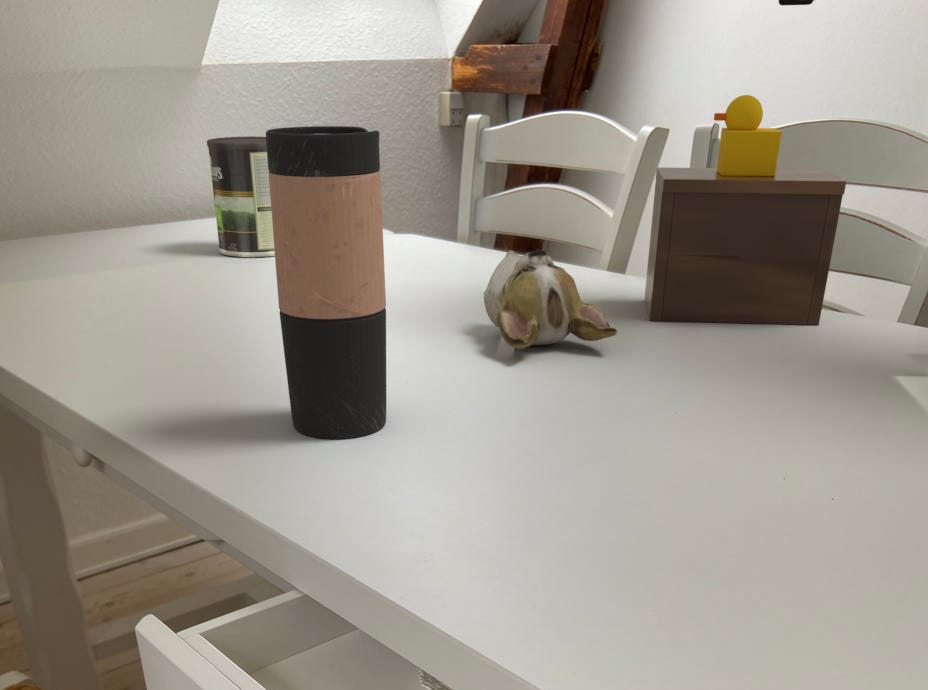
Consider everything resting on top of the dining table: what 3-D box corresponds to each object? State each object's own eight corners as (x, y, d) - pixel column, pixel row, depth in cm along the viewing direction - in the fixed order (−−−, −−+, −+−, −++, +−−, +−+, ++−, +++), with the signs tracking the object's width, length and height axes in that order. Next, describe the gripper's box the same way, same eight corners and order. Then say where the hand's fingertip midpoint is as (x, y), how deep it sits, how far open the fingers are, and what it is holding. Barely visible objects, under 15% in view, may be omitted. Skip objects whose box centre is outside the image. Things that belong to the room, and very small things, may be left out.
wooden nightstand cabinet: (644, 299, 113) (656, 167, 107) (799, 302, 112) (822, 168, 105) (649, 322, 104) (663, 179, 97) (819, 326, 102) (846, 181, 95)
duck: (768, 171, 103) (779, 94, 99) (775, 176, 99) (787, 96, 95) (705, 171, 103) (714, 94, 100) (710, 175, 100) (719, 95, 96)
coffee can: (221, 259, 135) (208, 143, 128) (217, 246, 144) (205, 137, 136) (297, 256, 137) (288, 141, 130) (289, 243, 146) (281, 135, 139)
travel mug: (270, 432, 74) (241, 132, 64) (319, 403, 81) (299, 124, 70) (362, 445, 72) (347, 135, 62) (406, 414, 78) (398, 127, 68)
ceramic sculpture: (559, 229, 100) (630, 266, 88) (553, 317, 105) (620, 362, 93) (459, 236, 97) (519, 275, 85) (458, 326, 102) (514, 374, 90)
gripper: (914, -270, 76) (870, -3, 85) (860, -217, 91) (827, 5, 100) (812, -265, 77) (779, -1, 86) (775, -213, 92) (750, 7, 100)
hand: (805, 2), depth 93 cm, fingers open, 9 cm apart
